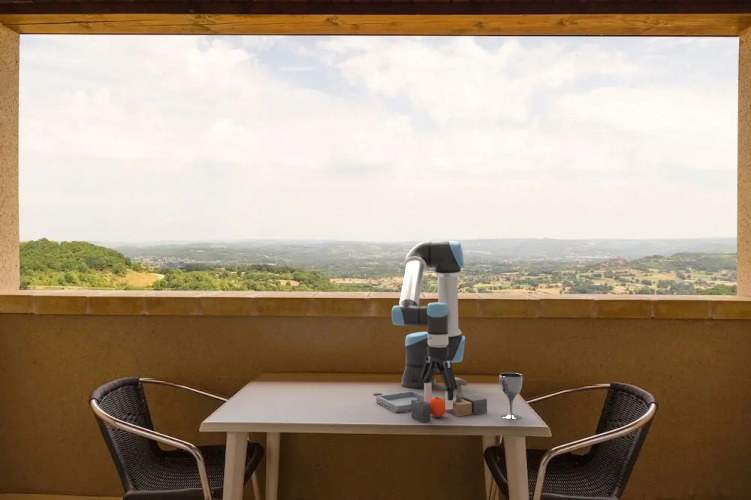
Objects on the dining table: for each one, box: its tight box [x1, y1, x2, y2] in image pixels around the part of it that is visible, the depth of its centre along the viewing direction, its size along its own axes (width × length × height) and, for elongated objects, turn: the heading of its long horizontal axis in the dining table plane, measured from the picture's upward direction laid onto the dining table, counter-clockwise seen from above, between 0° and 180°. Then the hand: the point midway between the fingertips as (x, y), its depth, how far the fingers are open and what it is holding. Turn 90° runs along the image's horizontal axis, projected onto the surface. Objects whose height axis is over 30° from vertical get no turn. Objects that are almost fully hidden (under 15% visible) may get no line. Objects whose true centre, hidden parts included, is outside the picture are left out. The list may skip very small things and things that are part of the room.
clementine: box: [428, 396, 448, 418], centre depth 196 cm, size 8×7×7 cm
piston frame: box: [410, 392, 488, 424], centre depth 198 cm, size 9×28×6 cm, turn 117°
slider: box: [446, 376, 473, 417], centre depth 200 cm, size 8×6×12 cm
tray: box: [375, 390, 429, 413], centre depth 212 cm, size 17×17×2 cm
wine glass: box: [498, 372, 523, 421], centre depth 195 cm, size 8×8×15 cm
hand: (438, 404), depth 196 cm, fingers open, 13 cm apart
